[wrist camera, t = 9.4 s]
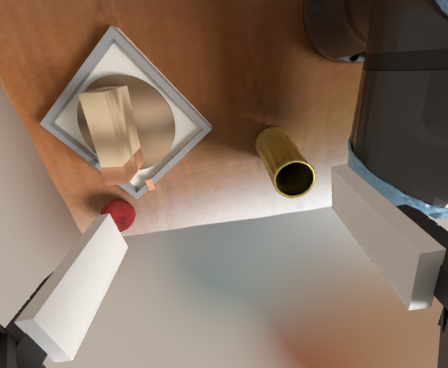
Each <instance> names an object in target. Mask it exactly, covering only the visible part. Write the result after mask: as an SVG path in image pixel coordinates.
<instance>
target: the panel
mask: <svg viewBox="0 0 448 368" xmlns="http://www.w3.org/2000/svg"><path fill="white" fill-rule="evenodd" d="M116 74H122V75H130V76H134V77H137V78H139V79H142V80H144V81H145V82H147V83H149V84H150V85H152V86H153V87H154V88H156V89H157V90H158V91H159V92H160V93H161V95H162V96H163V97H164V98H165V100H166V101H167V103H168V104H169V106H170V108H171V110H172V113H173V116H174V121H175V138H174V142H173V145H172V147H171V149H170V151H169V152H168V154H167V155H166V156H165V158H164V159H163V160H162V161H160V162H159V163H158V164H156V165H154V166H152V167H150V168H146V169H142V170H138V172H137V173H136V174H135V176H134V177H133V178H132V180H131V181H130V182H129V184H121V185H119V186H120V187H121V188H123V189H124V190H125V191H127V192H128V193H129V194H130V195H132V196H133V197H134V198H136V199H137V200H138V199H139V198H140V197H141V196H142V195H143V194H144V193H145V192H146V191H147V190H148V189H149V190H153V189H155V187H154V184H155V183H156V182H157V181H158V180H159V179H160V178H161V177H162V176H163V175H164V174H165V173H166V172H167V171H169V170H170V169H171V168H172V167H173V166H174V165H175V164H176V163H177V162H178V161H179V160H180V159H181V158H182V157H183V156H184V155H185V154H186V153H188V152H189V151H190V150H191V149H192V148H193V147H194V146H195V145H196V144H197V143H198V142H199V141H200V140H201V139H202V138H203V137H204V136H205V135H207V134H208V133H209V132H210V131H211V130H212V125H211V124H210V123H209V122H208V121H207V120H206V119H205V118H204V117H203V116H202V115H201V113H200V112H199V111H198V110H197V109H196V108H195V107H194V106H193V105H192V104H191V103H190V102H189V101H188V100H187V99H186V98H185V97H184V96H183V95H182V94H181V93H180V92H179V91H178V89H177V88H176V87H175V86H174V85H173V84H172V83H171V82H170V81H169V80H168V79H167V78H166V77H165V76H164V75H163V74H162V73H161V72H160V71H159V70H158V69H157V68H156V67H155V65H154V64H153V63H152V62H151V61H150V60H149V59H148V58H147V57H146V56H145V55H144V54H143V53H142V52H141V51H140V50H139V49H138V48H137V47H136V46H135V45H134V44H133V43H132V41H131V40H130V39H129V38H128V37H127V36H126V35H125V34H124V33H123V32H122V31H121V30H120V29H119V28H117V27H114V26H110V28H109V29H108V30H107V32H106V33H105V34H104V36H103V37H102V39H101V40H100V41H99V43H98V44H97V45H96V47H95V48H94V50H93V51H92V52H91V54H90V55H89V57H88V58H87V59H86V61H85V62H84V63H83V65H82V66H81V68H80V69H79V70H78V72H77V73H76V74H75V76H74V77H73V79H72V80H71V81H70V83H69V84H68V85H67V87H66V88H65V90H64V91H63V92H62V94H61V95H60V97H59V98H58V99H57V101H56V102H55V103H54V105H53V106H52V108H51V109H50V110H49V112H48V113H47V114H46V116H45V117H44V119H43V120H42V121H41V123H40V125H41V126H42V127H44V128H45V129H46V130H48V131H49V132H50V133H52V134H53V135H54V136H55V137H57V138H58V139H59V140H61V141H62V142H63V143H64V144H66V145H67V146H68V147H70V148H71V149H72V150H74V151H75V152H76V153H77V154H79V155H80V156H81V157H83V158H84V159H85V160H86V161H88V162H89V163H90V164H89V165H88V166H89V167H91V168H92V169H93V168H94V167H96V168H97V169H98V170H99V171H101V170H100V168H101V166H100V163H99V159H98V156H97V155H96V154H95V153H94V152H93V151H92V150H91V149H90V147H89V146H88V145H87V143H86V142H85V140H84V138H83V136H82V134H81V132H80V129H79V125H78V120H77V108H78V103H79V100H80V98H79V95H78V93H82V92H84V90H85V89H86V88H87V87H88V86H89V85H90V84H91V83H92V82H94V81H95V80H97V79H99V78H101V77H105V76H109V75H116Z"/></svg>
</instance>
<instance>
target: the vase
mask: <svg viewBox="0 0 448 368" xmlns="http://www.w3.org/2000/svg"><path fill="white" fill-rule="evenodd" d="M255 147H256V151H257V153H258V155H259V156H260V157H261V159H262V161H263V163H264V165H265V167H266V169H267V171H268V173H269V176H270V178H271V180H272V183H273V186H274V187H275V189H276V191H277V192H278V193H280V194H281V195H282V196H285V197H288V198H295V197H300V196H303V195H304V194H306V193H307V192H309V191H310V189H311V188H312V186H313V185H314V182H315V178H316V177H315V170H314V168H313V167H312V166H311V165H310V164H309V163H308V162H307V160H306V159H305V158H304V157H303V156H302V154H301V153H300V152H299V150H298V148H297V146H296V145H295V144H294V142H293V141H292V140H291V139H290V136H289V134H288V133H287V132H286V131H285V130H284V129H282V128H280V127H269V128H267V129H265V130H263V131H262V132H261V133H260V134H259V135H258V137H257V139H256V143H255Z"/></svg>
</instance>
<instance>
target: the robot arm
mask: <svg viewBox="0 0 448 368" xmlns="http://www.w3.org/2000/svg"><path fill="white" fill-rule="evenodd" d="M303 17H304V25H305V29H306V33H307V35H308V38H309V40H310V42H311V43H312V45H313V46H314V48H315V49H316V50H317V51H318V52H319V53H320V54H321V55H322V56H324V57H325V58H327V59H329V60H331V61H334V62H338V63H361V62H364V64H363V68H362V73H361V80H360V86H359V92H358V98H357V104H356V109H355V115H354V120H353V126H352V131H351V135H350V138H349V140H348V149H349V155H348V164H347V165H346V164H344V165H339V166H335V167H331V174H332V208H333V209H334V211H335V212H336V214H337V215H338V216H339V218H340V219H341V220H342V222H343V223H344V224H345V226H346V227H347V228H348V230H349V231H350V232H351V234H352V235H353V236H354V238H355V239H356V240H357V242H358V243H359V245H360V246H361V247H362V249H363V250H364V251H365V253H366V254H367V255H368V257H369V258H370V259H371V261H372V262H373V263H374V265H375V266H376V267H377V269H378V270H379V271H380V273H381V274H382V275H383V277H384V278H385V279H386V281H387V282H388V283H389V285H390V286H391V287H392V289H393V290H394V291H395V293H396V294H397V295H398V297H399V298H400V299H401V301H402V302H403V303H404V305H405V306H406V307H407V309H408V310H414V309H421V308H428V307H431V306H432V302H433V298H434V296H435V297H436V298H437V299H438V300H439V302H440V303H441V304H442V305H443V309H442V313H441V316H440V320H439V323H438V325H439V326H441V328H440V342H439V355H438V367H437V368H448V231H447V230H445V229H444V228H443V227H441V226H438V224H437V223H436V222H435V221H433V220H432V219H430V218H429V217H428V216H431V217H433V218H435V219H447V218H448V0H304V5H303ZM127 248H128V246H127V245H126V243H125V241H124V239H123V237H122V235H121V233H120V232H119V230H118V228H117V226H116V224H115V222H114V221H113V219H112V217H111V215H110V213H108V214H103V215H99V216H97V217H96V218H95V220H94V221H93V222H92V224H91V225H90V226H89V227H88V229H87V230H86V231H85V233H84V234H83V235H82V236H81V238H80V239H79V240H78V241H77V243H76V244H75V245H74V247H73V248H72V249H71V250H70V252H69V253H68V254H67V256H66V257H65V258H64V259H63V261H62V262H61V263H60V264H59V266H58V267H57V268H56V269H55V271H53V272H52V273H51V274H50V275H49V276H48V277H47V278H46V279H44V281H43V282H42V283H41V284H40V285H39V286H38V288H37V289H36V291H35V292H34V293H33V294H32V295H31V296H30V299H29V300H28V301H26V303H25V304H24V305H23V306H22V308H21V309H20V310H19V312H18V313H17V314H16V315H15V316H14V318H13V319H12V320H11V322H10V323H9V324H8V325H7V327H6V328H4V327H3V326H2V325H0V368H46V367H45V366H44V365H43V364H42V363H43V361H44V360H45V358H46V356H47V355H48V356H49V357H50V358H51V359H52V360H53V361H54V362H55V363H57V362H64V361H71V360H73V358H74V356H75V354H76V352H77V350H78V348H79V346H80V344H81V342H82V340H83V338H84V336H85V334H86V332H87V330H88V328H89V326H90V324H91V322H92V319H93V318H94V316H95V313H96V311H97V309H98V307H99V305H100V303H101V301H102V299H103V297H104V295H105V293H106V291H107V289H108V287H109V285H110V283H111V281H112V279H113V277H114V275H115V273H116V271H117V269H118V267H119V265H120V263H121V260H122V258H123V256H124V254H125V252H126V251H127Z"/></svg>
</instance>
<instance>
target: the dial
mask: <svg viewBox="0 0 448 368" xmlns="http://www.w3.org/2000/svg"><path fill="white" fill-rule="evenodd" d="M78 95H79V98H80V100H79V103H78V108H77V120H78V125H79V129H80V132H81V134H82V136H83V138H84V140H85V142H86V143H87V145H88V146H89V147H90V149H91V150H92V151H93V152H94V153H95V154H96V155H97V156H98V159H99V163H100V166H101V168H100V170H101V173H102V176H103V179H104V182H105V185H121V184H129V182H130V181H131V180H132V178H133V177H134V176H135V174H136V173H137V172H138V170H142V169H146V168H150V167H152V166H154V165H156V164H158V163H159V162H160V161H162V160H163V159H164V158H165V156H166V155H167V154H168V152H169V151H170V149H171V147H172V145H173V142H174V138H175V121H174V116H173V113H172V110H171V108H170V106H169V104H168V103H167V101H166V100H165V98H164V97H163V96H162V95H161V93H160V92H159V91H158V90H157V89H156V88H154V87H153V86H152V85H150V84H149V83H147V82H145V81H144V80H142V79H139V78H137V77H134V76H130V75H122V74H116V75H109V76H105V77H101V78H99V79H97V80H95V81H94V82H92V83H91V84H90V85H89V86H88V87H87V88H86V89H85V90H84V92H82V93H78Z"/></svg>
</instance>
